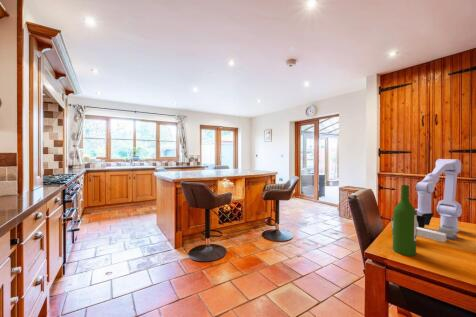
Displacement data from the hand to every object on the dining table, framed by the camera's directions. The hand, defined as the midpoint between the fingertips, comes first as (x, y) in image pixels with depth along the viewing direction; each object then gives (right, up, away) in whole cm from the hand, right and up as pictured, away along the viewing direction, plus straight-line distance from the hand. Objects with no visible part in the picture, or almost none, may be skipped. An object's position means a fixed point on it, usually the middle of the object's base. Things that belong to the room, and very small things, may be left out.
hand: (423, 226), depth 121 cm
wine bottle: (-26, -7, -19) cm, 33 cm away
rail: (0, -6, 0) cm, 6 cm away
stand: (+8, -5, +5) cm, 11 cm away
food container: (-15, -6, -3) cm, 16 cm away
